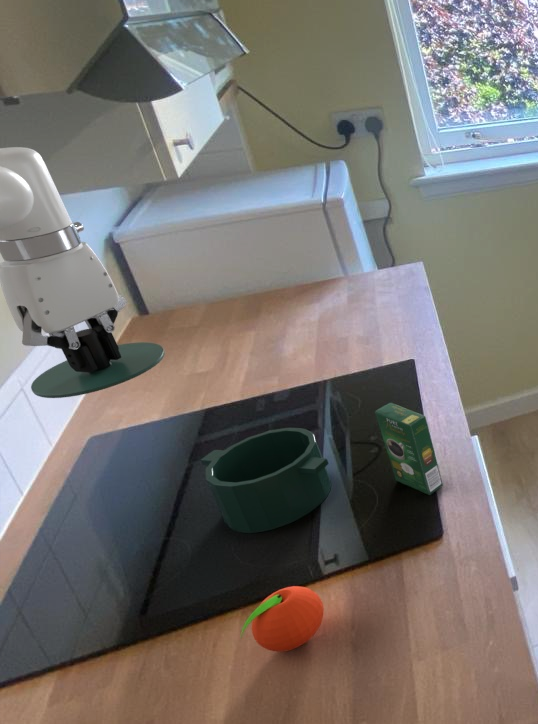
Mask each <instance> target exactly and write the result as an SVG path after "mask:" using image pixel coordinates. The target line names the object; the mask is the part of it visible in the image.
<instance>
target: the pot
mask: <svg viewBox="0 0 538 724" xmlns="http://www.w3.org/2000/svg"><path fill="white" fill-rule="evenodd" d="M200 462H201V464H202V466H207V467H206V468H205V480H206V482H207V484H208V488H209V489H210V491H211V494H212V497H213V498H214V500H215V503H216V505H217V507H218V510H219V511H220V513H221V516H222V518H223V520H224V523H225V524H226V525H227V526H228V527H229V528H230V530H232V531H235V532H237V533H242V534H257V533H263V532H267V531H272V530H275V529H276V530H277V529H279V528H282V527H285V526H287V525H290V524H291V523H293V522H296V521H298V520H299V519H302V518H303V517H306V515H309V513H311V512H312V511H314V510H315V509H316V508H317V507H319V506H320V505H321V504H323V502H324V501H325V500H326V498H327V497H328V495H329V494H330V492H331V489H332V481H331V479H330V475H329V472H328V469H327V466H328V465H329V460H328V458H325V457H324V458H323V454H322V452H321V450H320V446H319V444H318V441H317V439H316V435H315V434H314V433H313V432H312V431H309V430H308V429H306V428H299V427H284V428H276V429H271V430H267V431H264V432H262V433H261V432H260V433H258V434H255V435H251V436H249V437H247V438H245V439H243V440H241V441H239V442H236V443H234V444H231V445H230V446H229V447H226V449H223V450H222V449H214V450H212V451H211V452H209V453H207V454H206V455H205V456H204V457H202V458H201V459H200Z"/></svg>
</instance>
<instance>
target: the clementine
mask: <svg viewBox="0 0 538 724" xmlns="http://www.w3.org/2000/svg"><path fill="white" fill-rule="evenodd" d="M324 611H325V610H324V603H323V601H322V599H321V597H320V596H319V594H318V593H316V592H315V591H314V590H312V589H310V588H309V587H304V586H299V585H293V586H286V587H284V588H281V589H278V590H277V591H274V592H273V593H271V594H270V595H268V596H267V597H266V598H264V600H262V602H260V604H259V605H258V606H257V608H256V609H254V610H253V612H252V613H251V614H250V615H249V617H247V619H246V620H245V622H244V625H243V627H242V628H241V633H240V639H243V635H244V632H245V630H246V628H247V627H248V626H249V625H250V623H251V633H252V636H253V639H254V640H255V641H256V643H257V644H258V645H259V646H260V647H262V648H264V649H265V650H267V651H271V652H287V651H292V650H294V649H296V648H299V647H300V646H302V645H304V644H305V643H307V642H309V640H310V639H312V638H313V637H314V635H316V632H318V630H319V628H320V626H321V625H322V622H323V618H324Z"/></svg>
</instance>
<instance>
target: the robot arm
mask: <svg viewBox="0 0 538 724" xmlns="http://www.w3.org/2000/svg"><path fill="white" fill-rule="evenodd" d="M84 229H85V228H84V225H83V224H82V223H81V222H79V221H75V222H74V221H72V219H71V217H70V214H69V212H68V210H67V208H66V206H65V204H64V202H63V199H62V197H61V195H60V193H59V191H58V189H57V186H56V184H55V182H54V180H53V177H52V176H51V173H50V171H49V169H48V167H47V164H46V162H45V161H44V159H43V157H42V155H41V154H40V153H39V152H38V151H36V150H35V149H32V148H29V147H25V146H24V147H23V146H22V147H21V146H14V147H13V146H12V147H0V255H1V258H2V260H3V262H0V286H1V289H2V292H3V296H4V299H5V302H6V304H7V307H8V309H9V311H10V314H11V317H12V318H13V320H14V323H15V325H16V326H17V328H18V329H19V330H20V331H21V332H22V341H21V344H22V345H23V346H25V347H45V346H48V347H52V348H55V349H57V350H58V349H59V350H61V351H62V353H63V355H64V357H65V359H66V360H67V361H68V363H69V365H70V367H71V368H72V369H74V370H75V371H76V372H89V373H93V372H95V371H97V369H98V368H97V366H96V364H95V362H94V360H93V357H92V355H91V353H90V351H89V349H88V347H87V346H81V345H80V342H79V339H78V337H77V334H76V332H77V331H76V329H75V327H74V326H77V325H79V324H82V323H84V322H85V324H86V326H87V329H96V331H97V333H98V335H99V337H100V339H101V341H102V344H103V346H104V348H105V350H106V352H107V354H108V356H109V358H110V360H118V359H120V358H121V354H120V352H119V350H118V349H119V347H118V345H119V344H118V343H117V341H116V338H115V337H114V335H113V332H114V331H115V330H116V326H115V325H114V324H115V322H116V320H117V317H118V313H120V312H121V311H122V309H124V308H125V306H126V305H127V304H128V300H127V299H126V298H125V297H123V296H122V295H121V294H119V293H118V291H117V288H116V286H115V284H114V282H113V280H112V278H111V276H110V274H109V273H108V270H107V269H106V268H105V266H104V265H103V263H102V261H101V260H100V259H99V257H98V255H97V254H96V253H95V252H94V250H93V249H92V248H91V246H90V245H88V243H87V242H86V241H81V237H80V235H79V233H80V232H82V231H84ZM42 331H43V332H44V333H45V334H48V335H43V334H42Z"/></svg>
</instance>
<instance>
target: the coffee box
mask: <svg viewBox="0 0 538 724" xmlns="http://www.w3.org/2000/svg"><path fill="white" fill-rule="evenodd" d="M374 414H375V417H376V420H377V423H378V426H379V430H380V433H381V436H382V439H383V442H384V446H385V449H386V452H387V456H388V459H389V462H390V466H391V468H392V472H393V475H394V479H395V481H396V482H399V483H401V484H402V485H405V486H407V487H410V488H411V489H413V490H416V491H419V492H421V493H423V494H426V495H428V496H431V495H432V494H434V493H435V492H436V491H438V490H439V489H441V488H442V487H443V486H444V484H443V480H442V476H441V472H440V468H439V464H438V460H437V455H436V452H435V448H434V444H433V439H432V437H431V433H430V432H431V431H430V429H429V425H428V421H427V417H426V415H424V414H421V413H418V412H416V411H413V410H411V409H408V408H405V407H403V406H400V405H398V404H395V403H393V402H389V403H387V404H385V405H383V406H381V407H380V408H378V409H377V410H375V412H374Z"/></svg>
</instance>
